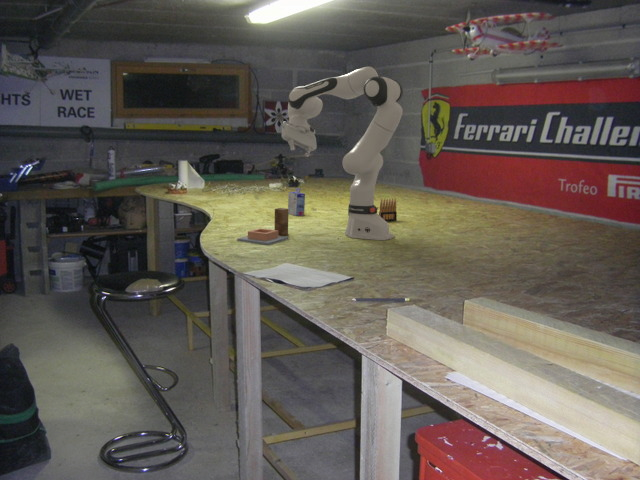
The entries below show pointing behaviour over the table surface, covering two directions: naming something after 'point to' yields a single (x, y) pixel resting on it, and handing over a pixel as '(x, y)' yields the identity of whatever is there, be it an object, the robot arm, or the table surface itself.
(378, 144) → the robot arm
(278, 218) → the wooden post
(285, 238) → the housing
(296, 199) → the ink cartridge box
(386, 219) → the ammunition clip
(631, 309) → the table surface
